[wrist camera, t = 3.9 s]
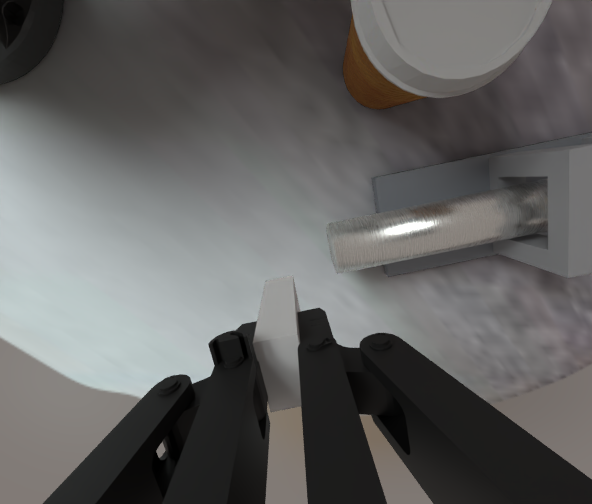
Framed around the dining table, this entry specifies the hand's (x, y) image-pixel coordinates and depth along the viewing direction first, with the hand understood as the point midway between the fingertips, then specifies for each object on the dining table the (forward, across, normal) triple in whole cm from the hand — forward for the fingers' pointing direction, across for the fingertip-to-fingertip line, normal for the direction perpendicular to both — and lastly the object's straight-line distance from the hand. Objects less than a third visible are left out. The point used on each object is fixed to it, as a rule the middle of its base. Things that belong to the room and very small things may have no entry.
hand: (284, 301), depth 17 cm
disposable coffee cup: (+12, +11, +14) cm, 21 cm away
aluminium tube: (+10, +15, 0) cm, 18 cm away
